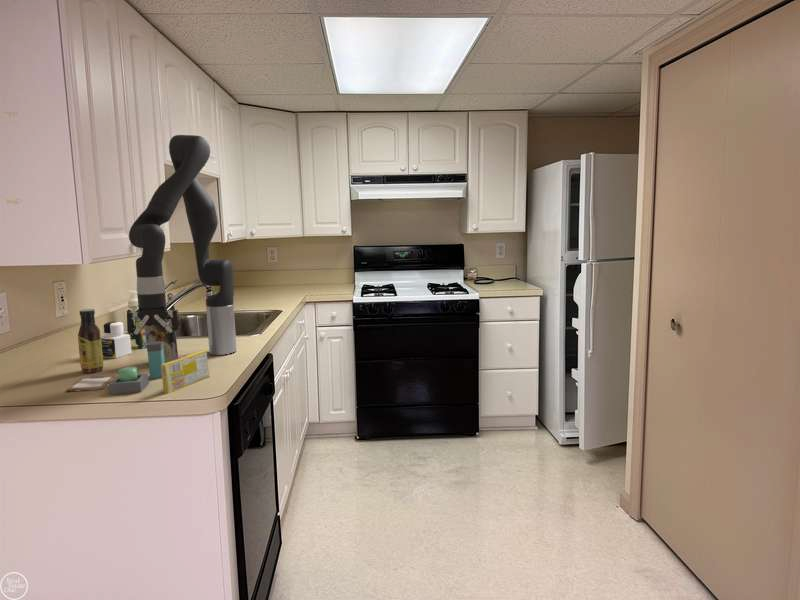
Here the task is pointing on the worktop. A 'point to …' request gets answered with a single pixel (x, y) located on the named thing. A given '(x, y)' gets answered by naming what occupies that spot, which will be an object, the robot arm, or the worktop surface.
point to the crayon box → (144, 343)
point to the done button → (128, 374)
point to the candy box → (184, 371)
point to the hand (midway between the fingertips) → (155, 345)
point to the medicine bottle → (115, 341)
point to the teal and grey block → (155, 358)
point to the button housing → (128, 385)
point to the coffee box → (163, 339)
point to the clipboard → (91, 383)
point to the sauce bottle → (89, 343)
